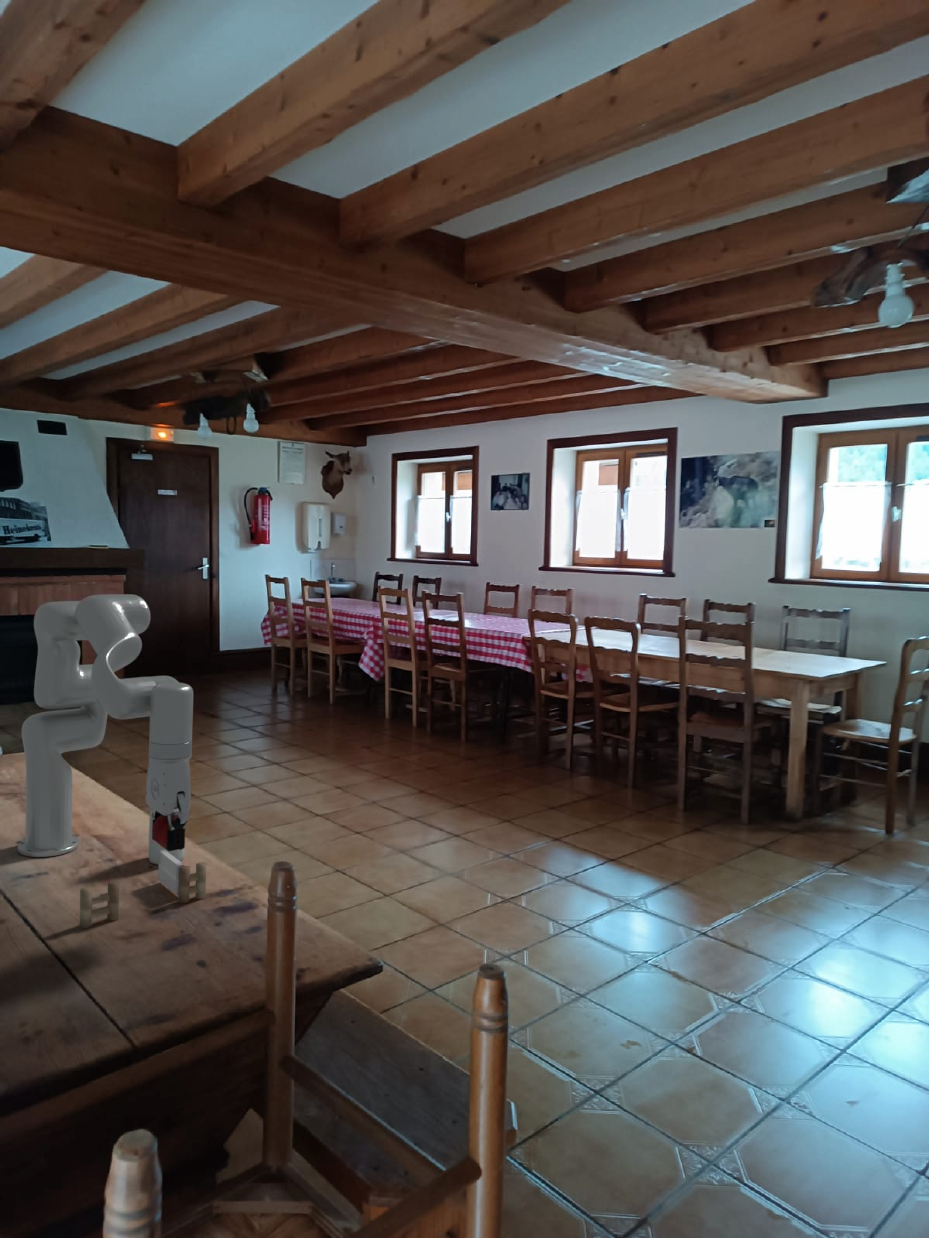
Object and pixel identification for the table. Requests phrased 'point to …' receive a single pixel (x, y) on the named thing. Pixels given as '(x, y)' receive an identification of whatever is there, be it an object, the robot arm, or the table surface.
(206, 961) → the table surface
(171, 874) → the gate
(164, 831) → the onion
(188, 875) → the fence
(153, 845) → the milk bottle
